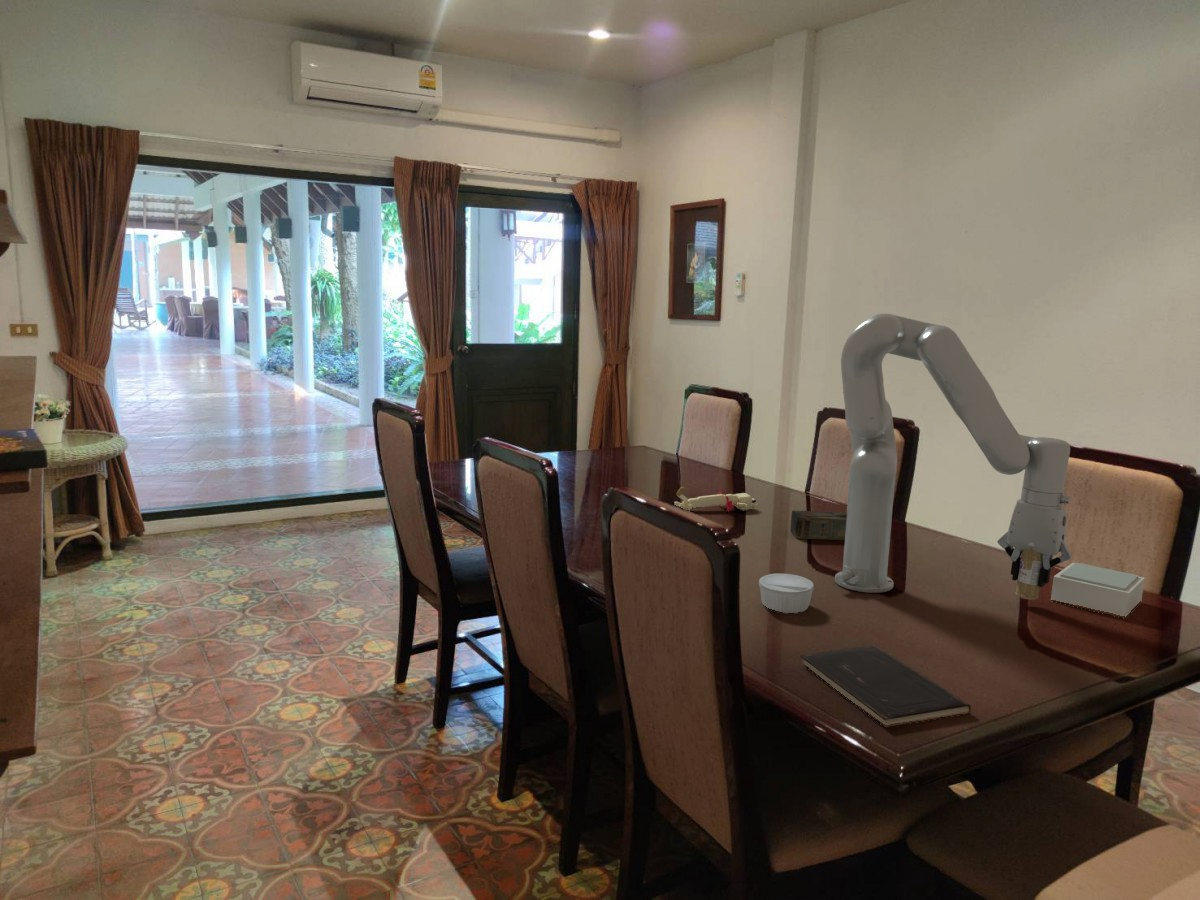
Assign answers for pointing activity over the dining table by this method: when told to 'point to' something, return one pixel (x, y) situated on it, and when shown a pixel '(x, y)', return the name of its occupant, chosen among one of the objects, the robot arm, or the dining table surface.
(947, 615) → the dining table surface
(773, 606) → the ramekin
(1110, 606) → the white rimmed tray
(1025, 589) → the sprinkles bottle
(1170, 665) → the dining table surface
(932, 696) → the hardcover book
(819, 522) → the beverage carton
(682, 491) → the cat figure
